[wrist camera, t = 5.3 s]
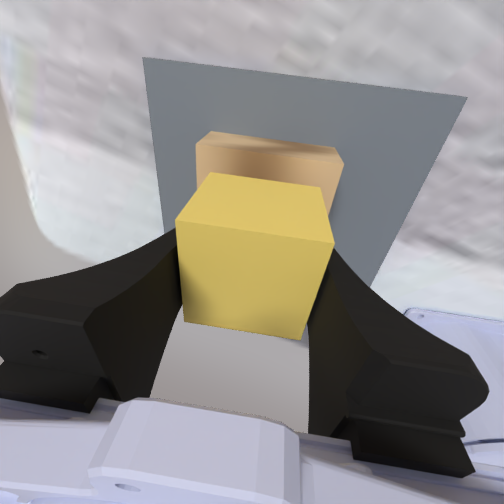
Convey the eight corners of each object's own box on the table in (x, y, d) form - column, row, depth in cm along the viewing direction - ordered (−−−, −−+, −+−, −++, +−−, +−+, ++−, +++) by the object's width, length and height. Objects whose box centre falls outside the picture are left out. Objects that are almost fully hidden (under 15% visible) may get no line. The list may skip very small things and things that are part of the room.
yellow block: (320, 187, 11) (335, 243, 8) (297, 271, 14) (300, 340, 11) (210, 171, 12) (175, 219, 8) (210, 258, 15) (184, 321, 11)
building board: (460, 96, 13) (467, 97, 12) (366, 285, 20) (368, 290, 20) (147, 57, 13) (142, 57, 13) (170, 255, 21) (167, 259, 21)
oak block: (334, 147, 14) (344, 164, 12) (306, 248, 18) (309, 276, 16) (210, 131, 14) (195, 144, 12) (210, 234, 19) (199, 259, 16)
